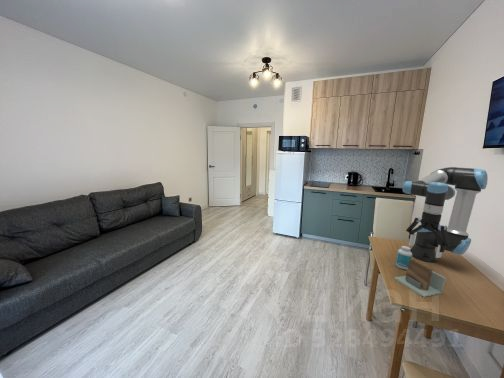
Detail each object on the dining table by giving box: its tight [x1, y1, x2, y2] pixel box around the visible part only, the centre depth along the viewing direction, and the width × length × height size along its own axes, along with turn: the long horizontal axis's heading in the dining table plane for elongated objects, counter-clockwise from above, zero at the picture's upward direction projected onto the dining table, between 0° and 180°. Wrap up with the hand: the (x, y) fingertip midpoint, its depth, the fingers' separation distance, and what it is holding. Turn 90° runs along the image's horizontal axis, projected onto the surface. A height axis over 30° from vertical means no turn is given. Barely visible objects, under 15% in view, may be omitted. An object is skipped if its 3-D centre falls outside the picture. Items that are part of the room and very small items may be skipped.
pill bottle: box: [395, 245, 413, 270], centre depth 134 cm, size 8×7×14 cm
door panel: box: [406, 258, 434, 291], centre depth 114 cm, size 3×10×12 cm, turn 18°
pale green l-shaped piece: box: [393, 270, 446, 298], centre depth 115 cm, size 14×16×9 cm
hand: (423, 251), depth 112 cm, fingers open, 13 cm apart
